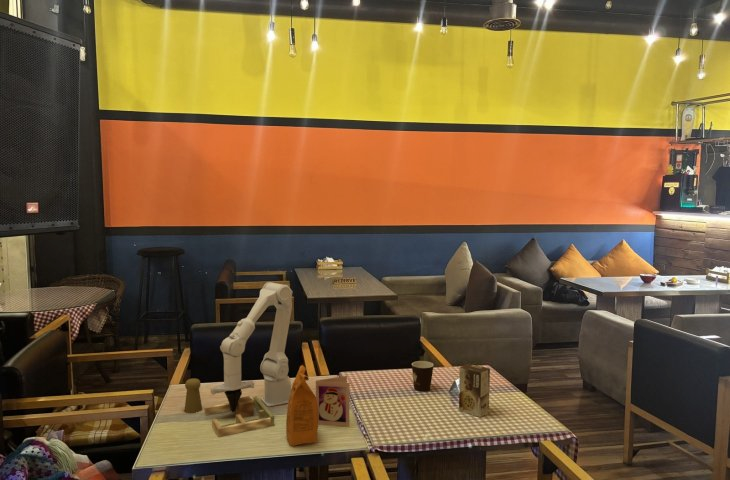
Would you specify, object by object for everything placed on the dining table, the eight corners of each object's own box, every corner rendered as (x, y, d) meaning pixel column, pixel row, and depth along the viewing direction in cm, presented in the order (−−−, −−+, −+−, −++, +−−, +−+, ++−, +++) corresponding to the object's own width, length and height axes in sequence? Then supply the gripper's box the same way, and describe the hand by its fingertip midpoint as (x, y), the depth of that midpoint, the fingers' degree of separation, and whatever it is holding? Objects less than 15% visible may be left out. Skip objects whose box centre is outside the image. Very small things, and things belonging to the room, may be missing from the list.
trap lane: (256, 404, 195) (256, 396, 194) (274, 425, 178) (274, 416, 177) (204, 414, 186) (204, 405, 186) (218, 436, 169) (218, 427, 168)
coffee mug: (434, 393, 208) (434, 368, 207) (412, 392, 208) (412, 367, 207) (430, 382, 220) (431, 358, 219) (409, 382, 220) (410, 358, 219)
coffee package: (316, 428, 176) (316, 363, 174) (319, 446, 164) (319, 376, 162) (286, 430, 174) (285, 364, 172) (286, 448, 162) (286, 377, 160)
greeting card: (314, 425, 178) (315, 381, 177) (319, 416, 185) (320, 374, 184) (348, 427, 176) (349, 383, 175) (352, 418, 184) (352, 376, 182)
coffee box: (489, 412, 190) (491, 368, 189) (480, 418, 185) (481, 372, 184) (467, 405, 196) (468, 362, 195) (457, 410, 192) (459, 366, 190)
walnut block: (248, 409, 190) (248, 396, 190) (254, 415, 185) (253, 401, 184) (234, 412, 188) (234, 398, 187) (239, 418, 182) (239, 404, 182)
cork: (196, 414, 186) (196, 383, 185) (180, 412, 187) (180, 381, 186) (205, 407, 192) (204, 377, 191) (189, 405, 193) (189, 376, 192)
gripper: (250, 366, 190) (250, 403, 191) (208, 372, 183) (209, 410, 184) (256, 371, 184) (256, 410, 185) (213, 378, 177) (213, 418, 178)
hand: (233, 410), depth 184 cm, fingers closed
